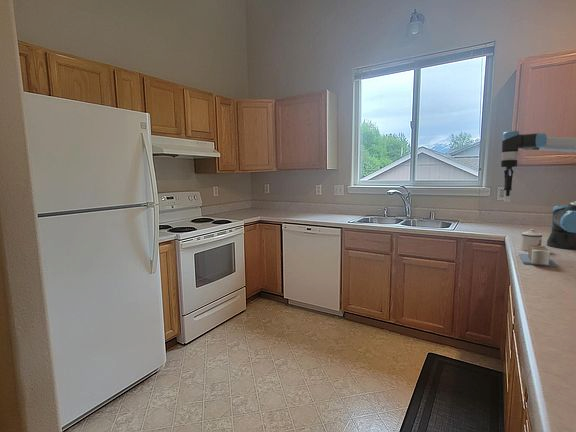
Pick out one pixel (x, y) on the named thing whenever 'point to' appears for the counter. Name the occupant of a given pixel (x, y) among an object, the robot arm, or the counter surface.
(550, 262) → the slate mat
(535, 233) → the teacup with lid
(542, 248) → the beige canister
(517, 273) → the counter surface
